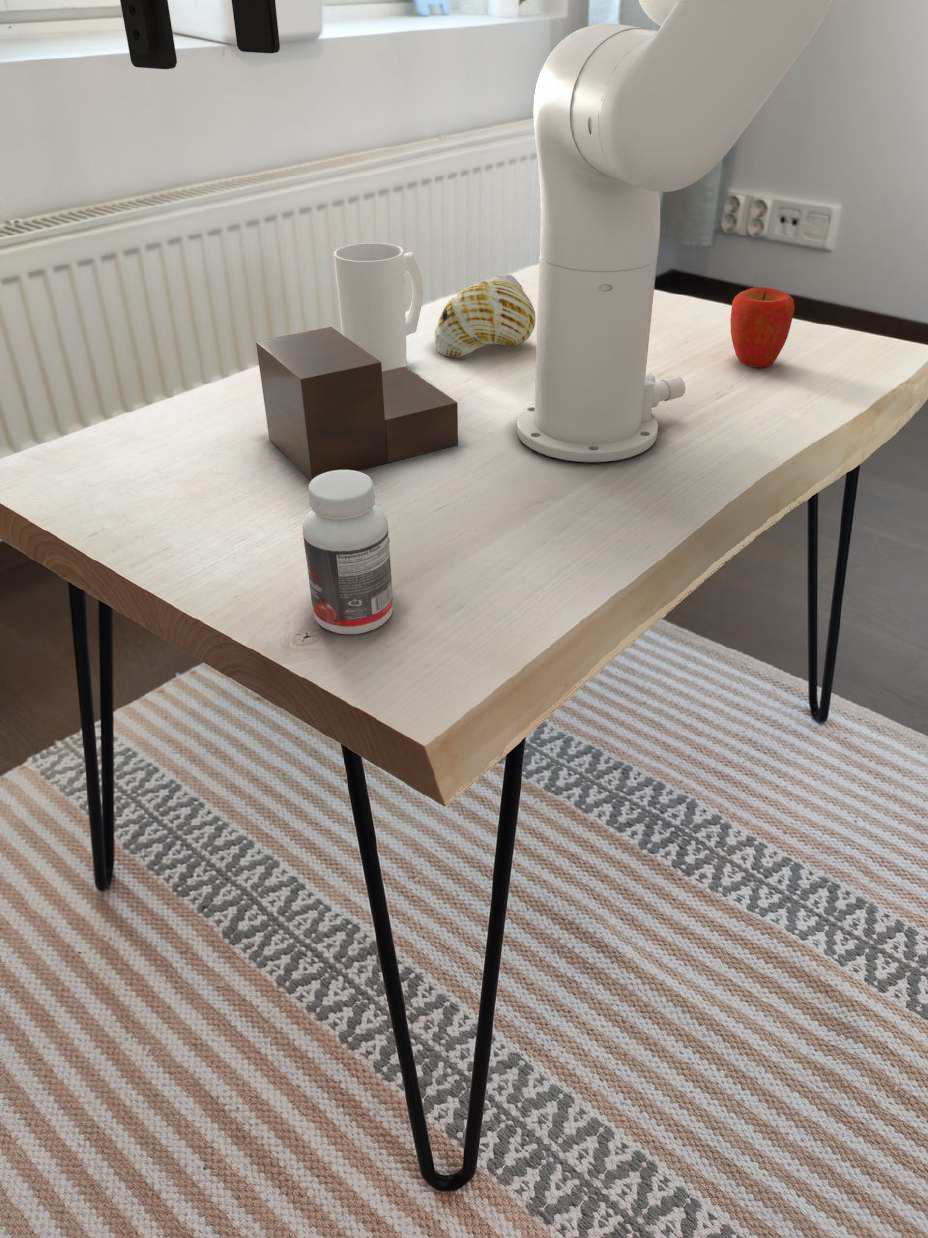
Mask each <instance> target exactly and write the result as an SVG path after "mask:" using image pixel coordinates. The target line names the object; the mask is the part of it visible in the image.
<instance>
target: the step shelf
mask: <svg viewBox="0 0 928 1238" xmlns="http://www.w3.org/2000/svg"><path fill="white" fill-rule="evenodd" d="M255 345H256V353H257V360H258V368H259V374H260V375H259V376H260V382H261V389H262V396H263V404H264V411H265V412H264V413H265V419H266V425H267V432H268V439H269V440H270V441H271V442H272V443H273V444H274V445H275V446H276V447H277V448H278V449H279V450H280V451H281V453H283V454H284V455H285V457H286V458H287V459H288V460H289V461H290V462H291V463H292V464H293V465H295V467H296V468H297V469H298V470H299V471H300V472H301V473H302V474H303V475H304V476H305V477H306V479H308V480H309V482H311V481H312V479H314V478H315V477H317V476H318V475H321V474H323V473H326V472H329V471H335V470H354V471H358V472H360V471H363V470H366V469H367V470H368V469H371V468H375V467H378V466H382V465H386V464H388V463H393V462H397V461H400V460H404V459H408V458H411V457H415V456H418V455H423V454H427V453H430V452H434V451H439V450H442V449H446V448H450V447H455V446H458V445H459V414H458V412H459V411H458V409H459V408H458V407H459V405H458V402H457V401H456V400H455V399H453V398H452V397H450V396H449V395H447V394H446V393H445V392H443V391H442V390H441V389H439V388H437V387H436V386H434V385H433V384H431V383H430V382H428V381H427V380H425V379H424V378H422V377H421V376H420V375H418V374H416V373H415V372H414V371H412V370H411V369H410V368H408V367H400V368H396V369H391V370H386V371H382V365H381V362H380V361H379V360H378V359H376V358H375V357H373V356H372V355H370V354H369V353H368V352H366V351H365V350H363V349H362V348H361V347H359V346H358V345H356V344H355V343H353V342H352V341H351V340H349V339H348V338H346V337H345V336H344V335H342V332H340V331H338V330H337V329H335V328H334V327H332V326H329V327H322V328H319V329H313V330H308V331H303V332H297V333H292V334H287V335H281V336H277V337H272V338H267V339H261V340H256V341H255Z"/></svg>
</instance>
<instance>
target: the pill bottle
mask: <svg viewBox="0 0 928 1238" xmlns="http://www.w3.org/2000/svg"><path fill="white" fill-rule="evenodd" d="M308 503H309V504H308V505H309V506H310V507H311V510H309V512H308V513H307V514H306V515H305V517H304V520H303V523H302V537H303V538H302V539H303V544H304V545H303V546H304V553H305V560H306V567H307V574H308V581H309V582H308V583H309V590H310V591H309V592H310V600H311V606H312V614H313V617H314V619H315V621H316V622H317V624H318V625H320V626H321V627H322V628H323V629H325V630H328V631H330V632H332V633H336V634H341V635H359V634H365V633H368V632H371V631H373V630H376V629H378V628H379V627H381V626H382V625H384V624H385V623H386V622H387V621H388V620H389V619H390V618H391V616H392V613H393V610H394V600H393V599H394V596H393V583H392V582H393V581H392V565H391V552H390V551H391V550H390V535H389V523H388V518H387V516H386V514H385V512H384V511H383V510H382V509H381V508H380V507H379V506H378V505H376V495H375V489H374V482H373V479H372V478H371V477H370V476H369V475H368V474H366V473H364V472H362V471H354V470H335V471H329V472H326V473H323V474H321V475H318V476H317V477H315V478H314V479H312V481H309V484H308Z"/></svg>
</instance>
